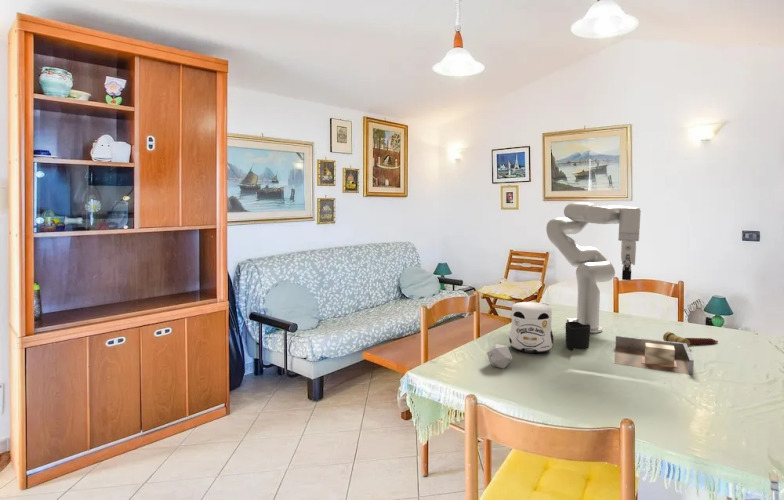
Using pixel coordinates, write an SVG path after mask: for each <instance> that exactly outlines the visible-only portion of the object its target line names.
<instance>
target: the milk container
mask: <svg viewBox="0 0 784 500" xmlns="http://www.w3.org/2000/svg"><path fill="white" fill-rule="evenodd" d="M552 311H553V310H552V306H551V305H549V304H547V303H542V302H536V301H522V302H520V301H519V302H515V303H513V304H512V306H511V326H510V330H509V335H508V338H509V339H508V340H509V344H510V347H512V348H513V349H515V350H517V351H520V352H524V353H531V354H540V353H545V352H549V351H550V350H552V347H553V345H554V335H553V331H552V313H553V312H552Z"/></svg>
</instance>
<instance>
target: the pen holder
mask: <svg viewBox="0 0 784 500" xmlns="http://www.w3.org/2000/svg"><path fill="white" fill-rule="evenodd" d="M590 336H591V333H590V325H589V324H587V325H584V324H581V323H579V322H575V321H571V322H567V321H566V322H565V347H566V348H567V349H568V350H570V351H574V350H575V349H576V350H586V349H589V347H590V339H591V338H590Z"/></svg>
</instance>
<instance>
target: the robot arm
mask: <svg viewBox="0 0 784 500" xmlns="http://www.w3.org/2000/svg"><path fill="white" fill-rule="evenodd" d="M563 214H564V216H565V217H555V218H552V219H550V220H549V221H548V222H547V223H546V230H545V231H546V235H547V237H548V240H549V241H550V242H551V244H552V245H554V247H556V248H557V250H558V251H559V252H560V253H561V255H562V256H563V257H564V258H565V260H566V261H567V262H568V263H569V265H571V266H572V267H574V268H576V269H575V276H576V283H577V305H576V306H577V307H576V318H566V322H571V321H575V322H579V323H581V324H584V325H587V324H589V325H590V334H596V333H601V332H602V331H603V327H602V326H601V325H599V324H600V309H601V307H600V305H601V303H600V301H601V292H600V289H599V286H598V285H597V283H605V282H606V283H607V282H610V281H612V280H613V279H614V278H615V277H616V276H615V275H616V270H615V267H614V266H613V264H612V263H611V261H609V259H608V258H607V257H606V256H605V254H603V252H602V251H601V250H600V249H598V248H596V247H594V246H580V245H579V244H578V243H577V241H576V240H574V239H573V238H572V237H570V236H569V235H576V234H579V233H581V232H582V231H583V230H584V229H585V227H586V226H588V224H597V225H612V224H613V225H614V224H615V225H616V224H618V237H617V238H618V241H620V242H621V244H620V245H621V248H620V257H621V258H620V259H621V260H620V261H621V265H622V272H621V273H622V274H621V279H622V281H632V265H633V266H635V265H636V254H637V253H636V252H637V242H639V241H640V226H641V208H640V207H637V206H625V205H608V206H607V205H602V206H601V205H600V206H599V205H597V204H595V203H591V202H585V201H584V202H570V203H568V204H567V205H566V206H565V207H564V209H563Z"/></svg>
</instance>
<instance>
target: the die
mask: <svg viewBox="0 0 784 500" xmlns="http://www.w3.org/2000/svg"><path fill="white" fill-rule="evenodd" d="M486 355H487V357H488V360H489V363H490V365H491V366H492V367H496V368H499V369H505V368H506V367H507V366H508V365H509V364H510V363H511V362H512V361H513V357H512V354H511V351H510V349H509V346H508V345H502V344H499V343H495V344H494V345H493V346H492V347H491V348H489V350H488V351H487V352H486Z"/></svg>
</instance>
